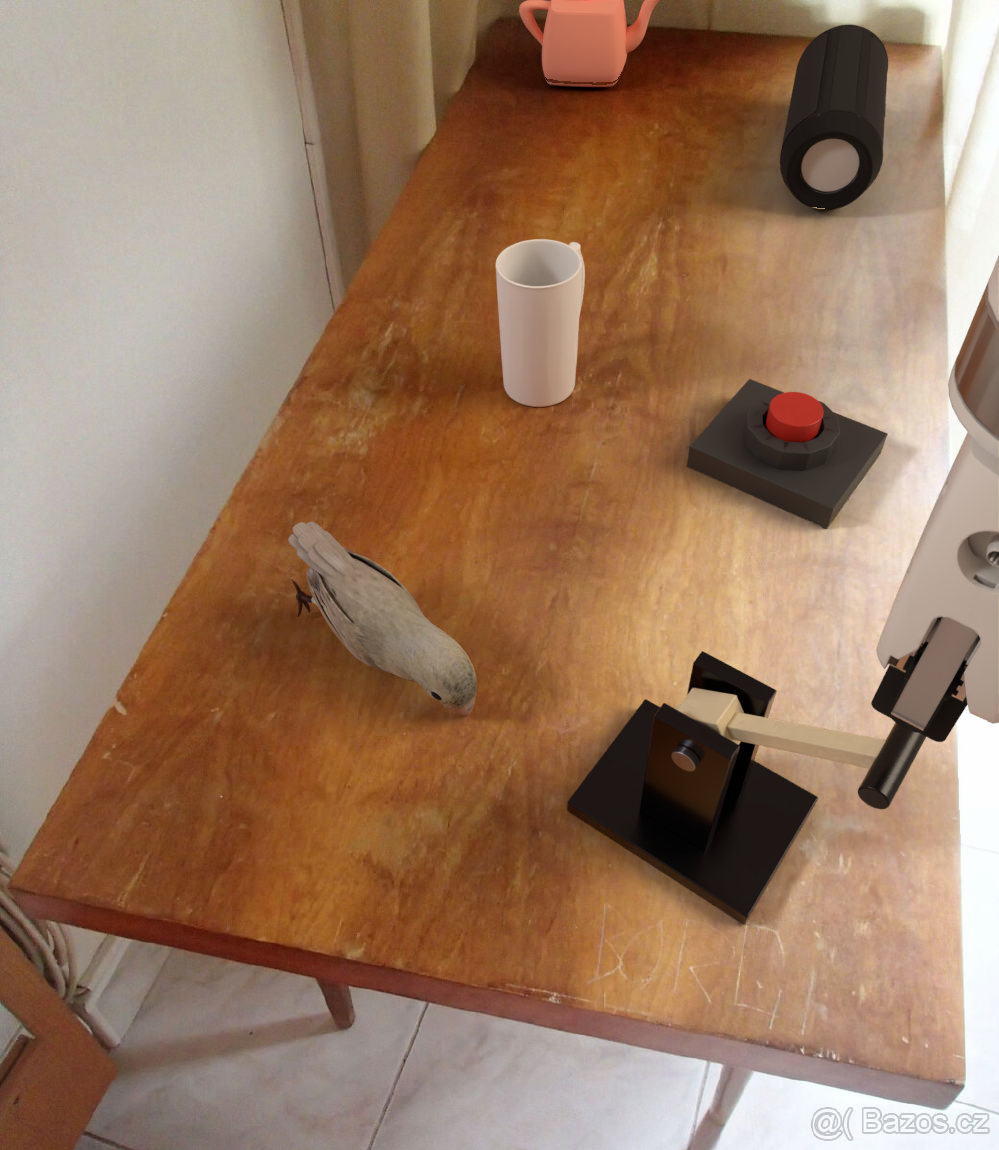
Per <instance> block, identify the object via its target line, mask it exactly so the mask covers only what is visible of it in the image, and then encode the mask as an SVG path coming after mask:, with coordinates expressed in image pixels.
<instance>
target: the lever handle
mask: <svg viewBox="0 0 999 1150" xmlns="http://www.w3.org/2000/svg"><path fill="white" fill-rule="evenodd" d="M676 710H678V711H680V712H681V713H683V714H685V715H687V716H689V717H690V718H692V719H694V720H696V721H697V722H699V723H701V724H703V725H704V726H706V727H708V728H710V729H712V730H713V731H715V732H717V733H719V734H720V735H722V736H724V737H726V738H727V739H729V740H731V741H733V742H735V743H736V744H738V745H739V744H740V742H746V743H751V744H756V745H759V747H760V746H761V747H765V748H770V749H775V750H779V751H785V752H789V753H792V754H793V753H794V754H799V755H804V756H808V757H811V758H812V757H813V758H817V759H821V760H827V761H831V762H836V763H841V764H846V765H850V766H855V767H860V768H864V769H868V771H867V772H866V774H865V776H864V778H863V780H862V781H861V783H860V784H859V787H858V789H857V794H858V797H859V799H860V800H861V801H862V802H863V803H864V804H865V805H867V806H869V807H871V808H873V809H876V810H886V809H888V808H890V806H891V804H892V802H893V801H894V798H895V797H896V795H897V793H898V791H899V789H900V787H901V785H902V784H903V782H904V779H905V778H906V776H907V774H908V772H909V771H910V768H911V767H912V765H913V763H914V761H915V759H916V757H917V755H918V754H919V751H920V750H921V747H923V744H924V743H925V741H926V738H927V737H926V736H924V735H922V734H920V733H916V732H912V731H910V730H908V729H906V728H904V727H902V726H900V725H899V724H897V723H895V722H894V724H893V726H892V728H891V730H890V732H889V733H888V735H887V737H886V739H882V738H878V737H877V738H876V737H872V736H867V735H866V736H865V735H861V734H855V733H850V732H844V731H839V730H834V729H829V728H824V727H817V726H813V725H807V724H801V723H798V722H791V721H786V720H780V719H776V718H770V717H768V718H765V717H760V716H755V715H749V714H744V711H743V709H742V707H741V705H740V702H739V700H738V698H737V696H736V695H733V694H727V693H721V692H716V691H710V690H704V689H698V688H692V689H691V691H690V692H689V693H688V695H687V694H686V696H685V697H684V699H683V700H682V701H681V702H680V704H679V706H678V707H677V709H676Z"/></svg>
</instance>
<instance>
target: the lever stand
mask: <svg viewBox="0 0 999 1150" xmlns="http://www.w3.org/2000/svg"><path fill="white" fill-rule="evenodd" d="M688 683H689V684H688V688H687V693H686V696H687V695H688V693H689V692H690V691H691V689H692V688H698V689H704V690H710V691H716V692H721V693H727V694H733V695H736V696H737V698H738V700H739V702H740V705H741V707H742V709H743V711H744V714H749V715H755V716H760V717H765V718H770V713H771V711H772V707H773V704H774V701H775V697H776V695H777V692H778V691H777V689H775V688H773V687H772V686H769V685H767V684H765V683H764V682H762V681H760V680H759V679H756V678H754V677H753V676H751V675H749V674H747V673H745V672H743V671H742V670H739V669H738V668H735V667H734V666H732V665H730V664H728V663H726V662H724V661H722V660H721V659H718V658H716V656H713V655H711V654H709V653H708V652H705V651H703V650H702V651H701V652H700V653H699V654H698V656H697V657H696V658H695V660H694V661H693V663H692V667H691V673H690V677H689V682H688ZM759 747H760V745H756V744H751V743H746V742H740V744H739V745H738V744H736V743H735V742H733V741H731V740H729V739H727V738H726V737H724V736H722V735H720V734H719V733H717V732H715V731H713V730H712V729H710V728H708V727H706V726H704V725H703V724H701V723H699V722H697V721H696V720H694V719H692V718H690V717H689V716H687V715H685V714H683V713H681V712H680V711H678V710H677V709H676V708H674V707H673V706H671V705H670V704H667V703H666V702H663V703H662V704H661V706H660V705H657V704H655V703H654V702H652V701H650V700H648V699H644V700H643V701H642V702H641V703H640V705H639V706H638V708H637V709H636V710H635V712H633V715H631V717H630V718H629V719H628V721H627V722H626V723H625V725H624V726H623V727H622V729H621V730H620V732H619V733H618V734H617V735H616V736H615V738H614V740H612V742H611V743H610V745H609V746H608V747H607V749H605V751H604V752H603V754H602V755H601V756H600V758H599V759H598V761H597V762H596V763H595V764H594V766H593V767H592V768H591V770H590V771H589V773H587V775H586V776H585V777H584V779H583V780H582V782H581V783H580V785H578V787H577V788H576V789H575V791H574V792H573V794H572V795H571V796H570V797H569V799H568V800H567V801H566V811H567V812H568V813H570V814H571V815H573V816H574V817H575V818H577V819H579V820H581V821H582V822H584V823H585V824H587V825H588V826H589V827H592V828H593V829H594V830H596V831H598V832H599V833H601V834H602V835H603V836H605V837H607V838H608V839H609V840H612V841H613V842H614V843H616V844H618V845H619V846H621V847H622V848H624V849H625V850H627V851H628V852H630V853H631V854H633V855H635V856H636V857H638V858H639V859H641V860H643V861H644V862H646V863H647V864H649V865H651V867H653V868H655V869H657V870H658V871H659V872H661V873H663V874H664V875H666V876H667V877H668V878H670V879H672V880H674V881H675V882H676V883H678V884H679V885H681V886H683V887H684V888H686V889H687V890H689V891H691V892H692V893H694V894H695V895H697V896H698V897H700V898H701V899H703V900H704V901H706V902H707V903H709V904H710V905H712V906H714V907H715V908H717V909H718V910H720V911H722V912H723V913H724V914H726V915H727V916H729V917H731V918H732V919H734V920H735V921H737V922H738V923H740V924H742V925H743V926H745V925H746V924H747V923H748V921H749V919H750V918H751V916H752V914H753V912H754V910H755V909H756V907H758V906H757V905H758V904H759V902H760V900H761V899H762V897H763V895H764V894H765V892H766V891H767V889H768V887H769V885H770V884H771V882H772V880H773V878H774V877H775V875H776V873H777V871H778V870H779V868H780V867H781V865H782V863H783V861H784V860H785V858H786V856H787V855H788V853H789V852H790V850H791V848H792V847H793V844H794V843H795V841H796V839H797V838H798V836H799V834H800V832H801V831H802V829H803V828H804V826H805V824H806V822H807V820H808V819H809V818H810V815H811V814H812V812H813V810H814V808H815V807H816V804H817V803H818V800H819V797H818V796H817V795H815V794H813V793H812V792H810V791H808V790H807V789H805V788H803V787H802V786H800V785H798V784H796V783H794V782H793V781H791V780H789V779H787V778H786V777H784V776H782V775H781V774H778V772H775V771H774V770H771V769H770V768H768V767H766V766H765V765H763V764H761V763H759V762H757V761H756V757H757V753H758V750H759Z"/></svg>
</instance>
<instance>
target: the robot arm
mask: <svg viewBox="0 0 999 1150" xmlns="http://www.w3.org/2000/svg"><path fill="white" fill-rule="evenodd" d="M974 312H975V313H974V315H973V317H972V319H971V321H970V324H969V327H968V329H967V332H966V334H965V337H964V340H963V342H962V344H961V346H960V349H959V352H958V354H957V356H956V358H955V360H954V363H953V364H952V368H951V371H950V374H949V378H948V383H947V388H948V397H949V402H950V405H951V408H952V410H953V412H954V414H955V416H956V418H957V420H958V421H959V423H960V425H962V427H963V428H964V429H965V430H966V435H965V437H964V440H963V441H962V443H961V446H960V448H959V449H958V453H957V454H956V457H955V458H954V461H953V462H952V465H951V467H950V469H949V472H948V474H947V476H946V479H945V481H944V483H943V485H942V487H941V490H940V492H939V494H938V496H937V498H936V501H935V503H934V505H933V507H932V509H931V512H930V514H929V517H928V519H927V521H926V523H925V526H924V528H923V530H922V533H921V535H920V537H919V540H918V542H917V545H916V547H915V548H914V549H915V550H914V552H913V554H912V556H911V559H910V561H909V564H908V566H907V568H906V571H905V573H904V576H903V578H902V580H901V582H900V585H899V588H898V590H897V592H896V595H895V598H894V600H893V602H892V605H891V608H890V611H889V613H888V616H887V618H886V621H885V624H884V626H883V629H882V632H881V633H880V636H879V640H878V642H877V645H876V650H875V652H876V655H877V659H878V661H879V663H880V666H881V667H882V668H883V670H886V671H885V672H884V674H883V677H882V679H881V681H880V683H879V685H878V686H877V687H878V688H877V689H876V691H875V694H874V695H873V698H872V700H871V703H870V704H871V707H872V708H873V709H874V710H875V711H876V712H878V713H880V714H882V715H884V716H885V717H888V718H890V719H891V720H892V721H893V722H894V724H895V723H897V724H899V725H900V726H902V727H904V728H906V729H908V730H910V731H912V732H916V733H920V734H922V735H924V736H926V738H928V739H930V740H932V741H934V742H935V743H936V742H938V743H944V742H945V741H947V738H948V736H949V735H950V733H951V732H952V730H953V728H954V727H955V725H956V723H957V722H958V721H959V720H960V718H961V716H962V714H963V713H964V711H965V709H966V708H968V709H967V710H968V712H969V714H970V715H973V716H975V717H978V718H979V719H982V720H983V721H987V722H988V723H990V724H999V254H998V255H997V258H996V260H995V264H994V266H993V268H992V271H991V273H990V276H989V278H988V281H987V283H986V285H985V288H984V290H983V293H982V295H981V298H980V300H979V303H978V305H977V307H976V310H975V311H974ZM886 668H887V669H886Z"/></svg>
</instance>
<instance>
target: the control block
mask: <svg viewBox="0 0 999 1150" xmlns="http://www.w3.org/2000/svg"><path fill="white" fill-rule="evenodd" d="M782 393H785V392H784V391H781V390H779V389H777V388H774V387H771V386H769V385H767V384H764V383H761V382H759V381H756V380H754V379H751V378H748V380H747V381H746V382H745V383H744V384H743V385H742V387H740V389H739V390H738V391H737V392H736V393H735V394H734V396H733V397H731V398H730V400H729V401H728V402H727V403H726V405H724V407H723V408H722V409H721V410H720V412H718V414H716V416H715V417H714V418H713V419H712V420H711V421H710V422H709V424H708V425H707V426H706V427H705V428H704V429H703V430H702V432H700V433H699V435H698V436H697V437H696V438H695V439H694V440H693V441H692V443H691V444H690V445H689V448H688V453H687V461H686V467H687V468H690V469H692V470H694V471H697V472H699V473H700V474H703V475H705V476H708V477H710V478H712V479H714V480H717V481H718V482H721V483H723V484H726V485H728V486H730V487H732V488H734V489H736V490H739V491H741V492H743V493H745V494H748V495H749V496H752V497H754V498H756V499H759V500H761V501H763V502H766V503H768V504H770V505H772V506H775V507H777V508H779V509H780V510H784V511H786V512H788V513H790V514H792V515H794V516H797V517H799V518H801V519H803V520H805V521H808V522H811V523H812V524H815V525H817V526H820V527H822V528H823V529H825V530H828V528H829V527H830V526H831V525H832V523H833V522H834V520H835V519H836V518H837V516H838V514H839V513H840V512H841V510H842V508H843V507H844V506H845V505H846V503H847V502H848V500H849V499H850V497H852V495H853V493H854V492H855V491H856V490H857V488H858V486H859V485H860V484H861V482H862V481H863V480H864V478H865V476H866V475H867V474H868V472H869V471H870V469H871V468H872V467H873V465H874V464H875V462H876V461H877V460H878V458H879V457H880V455H881V453H882V451H883V448H884V446H885V442H886V439H887V437H888V433H887V432H885V431H882V430H880V429H877V428H875V427H872V426H870V425H867V424H866V423H865V424H864V423H863V422H860V421H857V420H854V419H852V418H850V417H847V416H844V415H843V414H839V413H837V412H835V411H833V410H832V409H831V408H830V407H829V406H828V405H827V404H826V403H825V402H823V401H820V400H818V401H819V402H820V404H821V405H822V407H823V412H824V413H823V417H822V421H821V425H820V428H819V431H818V434H817V435H816V436H815V437H814V438H813V439H811V440H809V441H807V442H803V443H801V442H786V441H784V440H781V439H779V438H776V437H774V436H773V435H772V434H771V433H770V432H769V431H768V429H767V427H766V419H767V415H768V410H769V406H770V402H771V401H772V399H773V398H774V397H776V396H777V395H779V394H782Z"/></svg>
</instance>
